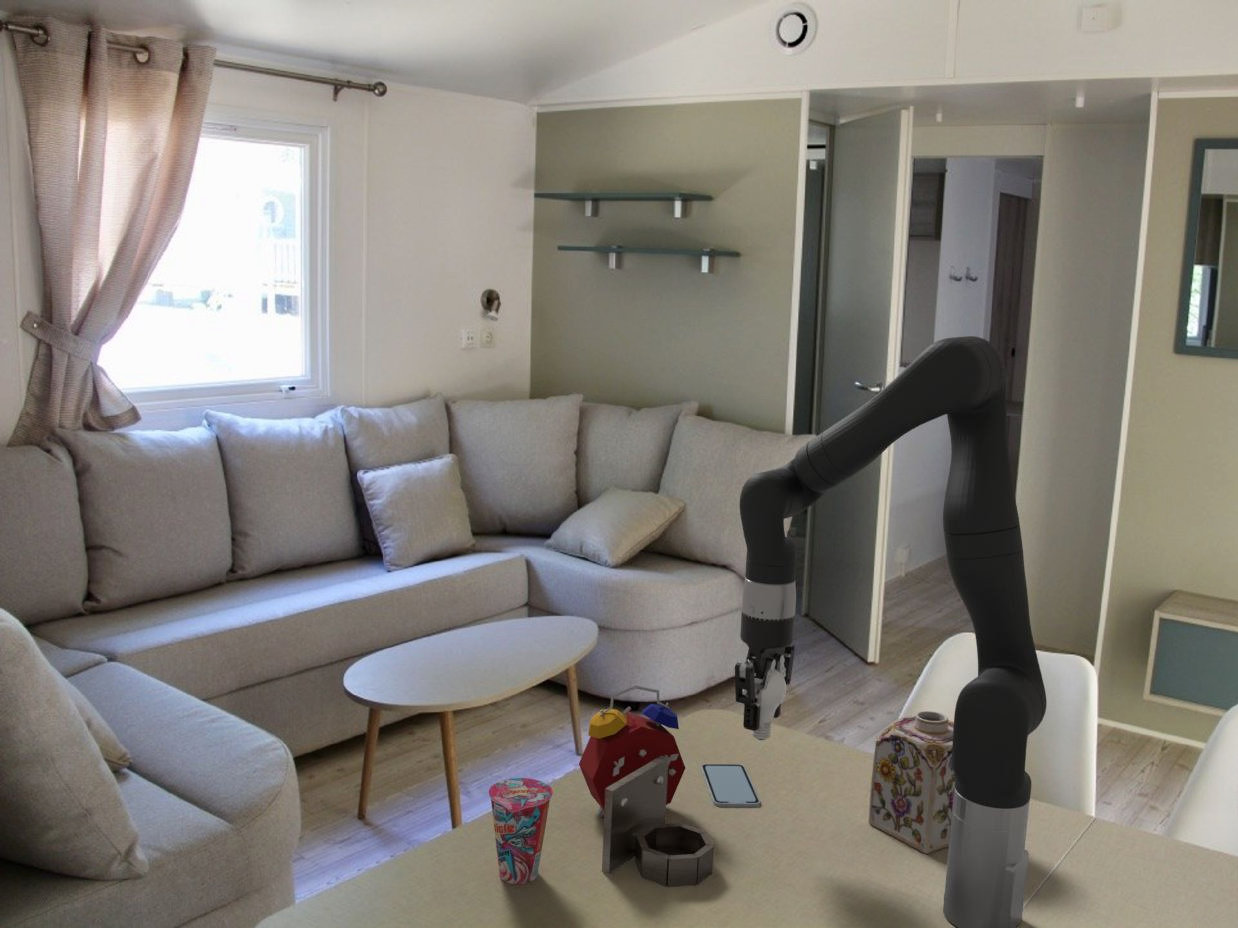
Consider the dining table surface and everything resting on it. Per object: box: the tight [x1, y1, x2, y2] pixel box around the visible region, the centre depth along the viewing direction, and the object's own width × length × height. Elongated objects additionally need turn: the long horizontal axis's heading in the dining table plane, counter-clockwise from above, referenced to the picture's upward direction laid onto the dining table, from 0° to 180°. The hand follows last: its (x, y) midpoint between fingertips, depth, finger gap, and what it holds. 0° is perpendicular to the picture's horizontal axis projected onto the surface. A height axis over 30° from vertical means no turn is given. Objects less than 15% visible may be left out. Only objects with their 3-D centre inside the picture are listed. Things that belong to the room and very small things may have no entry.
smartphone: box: [700, 763, 761, 808], centre depth 196 cm, size 7×1×15 cm
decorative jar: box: [868, 710, 955, 855], centre depth 182 cm, size 12×12×18 cm
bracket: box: [601, 756, 715, 888], centre depth 169 cm, size 12×14×12 cm
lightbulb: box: [743, 669, 787, 741], centre depth 176 cm, size 6×6×11 cm
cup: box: [488, 777, 554, 885], centre depth 164 cm, size 9×8×12 cm
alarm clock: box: [578, 685, 686, 818], centre depth 182 cm, size 15×9×20 cm, turn 111°
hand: (762, 721), depth 177 cm, fingers closed on lightbulb, 6 cm apart
